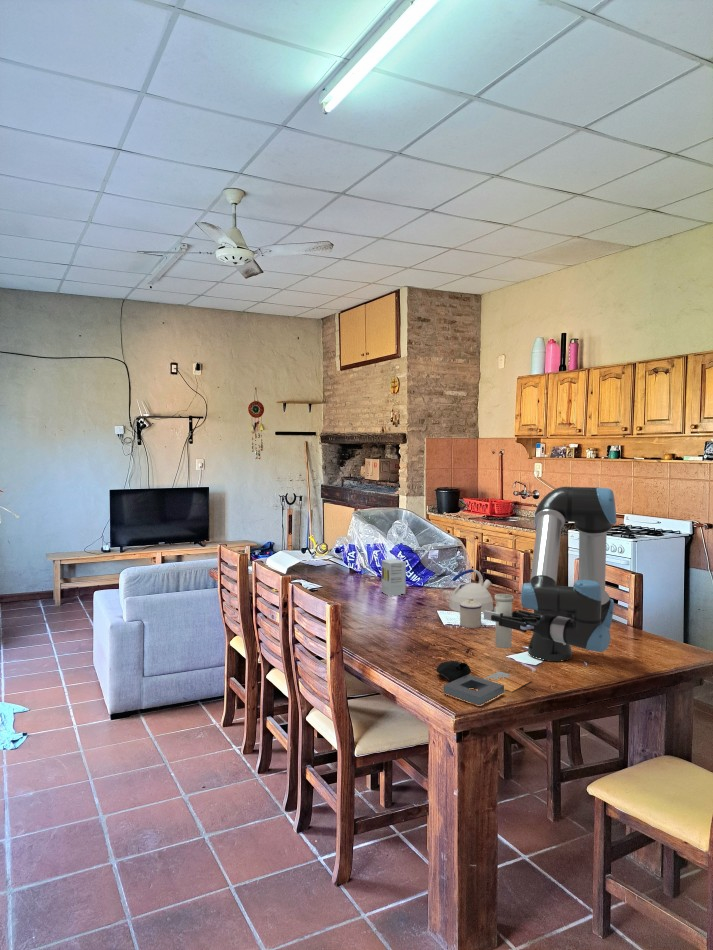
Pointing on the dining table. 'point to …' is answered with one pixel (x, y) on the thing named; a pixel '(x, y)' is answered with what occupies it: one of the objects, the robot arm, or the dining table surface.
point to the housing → (462, 691)
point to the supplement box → (393, 577)
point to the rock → (453, 670)
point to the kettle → (472, 593)
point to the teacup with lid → (470, 613)
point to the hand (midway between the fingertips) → (489, 612)
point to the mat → (498, 675)
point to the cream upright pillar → (503, 607)
